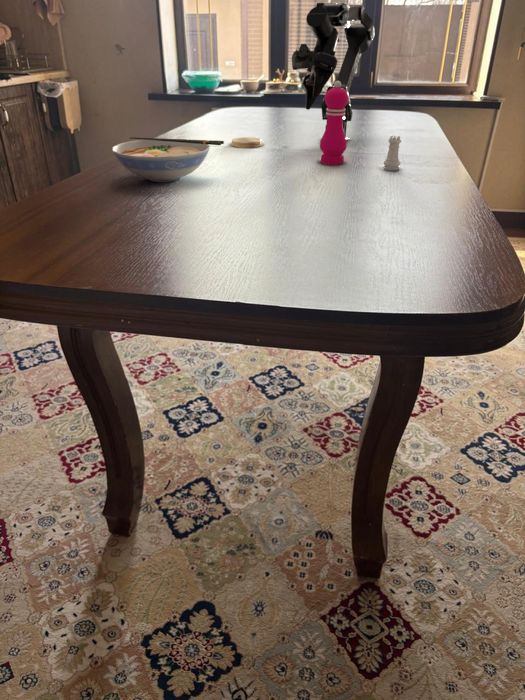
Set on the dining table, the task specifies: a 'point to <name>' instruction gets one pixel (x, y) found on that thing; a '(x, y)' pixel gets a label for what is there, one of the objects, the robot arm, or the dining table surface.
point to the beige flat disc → (246, 142)
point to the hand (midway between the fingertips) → (310, 103)
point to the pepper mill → (334, 126)
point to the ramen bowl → (163, 157)
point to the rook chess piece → (392, 155)
